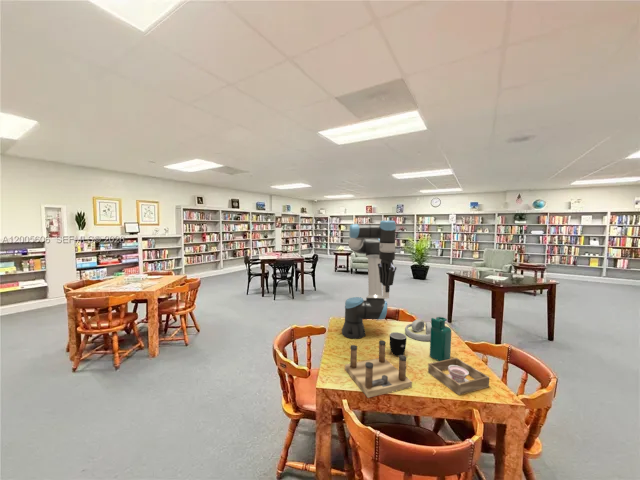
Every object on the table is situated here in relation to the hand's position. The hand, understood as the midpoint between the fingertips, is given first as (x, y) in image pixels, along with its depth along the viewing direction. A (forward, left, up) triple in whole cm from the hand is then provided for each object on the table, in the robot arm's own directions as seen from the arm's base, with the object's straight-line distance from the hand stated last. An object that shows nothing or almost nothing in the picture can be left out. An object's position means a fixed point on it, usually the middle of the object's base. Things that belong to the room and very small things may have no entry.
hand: (385, 298), depth 130 cm
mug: (-8, +15, -35) cm, 39 cm away
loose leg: (+17, -2, -32) cm, 36 cm away
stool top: (+9, -10, -34) cm, 37 cm away
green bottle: (+4, +32, -35) cm, 47 cm away
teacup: (+24, +23, -35) cm, 48 cm away
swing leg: (+17, -15, -32) cm, 39 cm away
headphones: (-23, +43, -35) cm, 60 cm away
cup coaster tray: (+22, +25, -34) cm, 48 cm away
